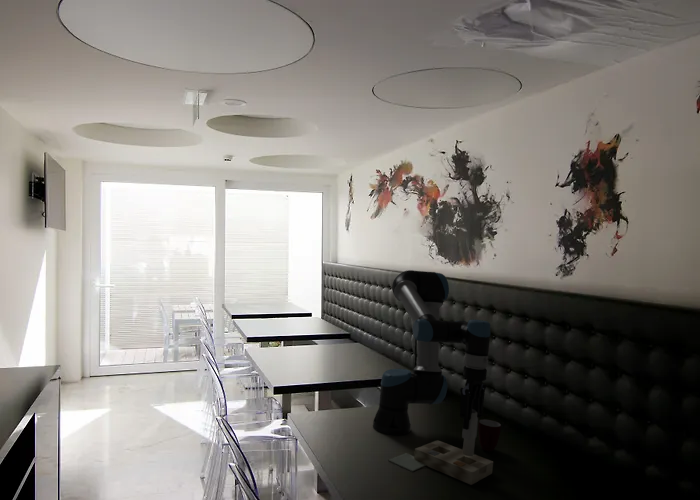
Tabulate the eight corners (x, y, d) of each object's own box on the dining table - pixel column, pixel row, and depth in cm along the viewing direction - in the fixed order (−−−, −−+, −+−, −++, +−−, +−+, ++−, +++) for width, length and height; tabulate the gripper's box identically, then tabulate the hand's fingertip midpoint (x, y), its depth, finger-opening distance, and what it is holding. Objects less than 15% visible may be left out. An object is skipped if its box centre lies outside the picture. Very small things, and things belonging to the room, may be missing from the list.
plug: (460, 453, 166) (464, 409, 166) (466, 451, 168) (470, 407, 169) (470, 457, 163) (474, 412, 163) (475, 454, 166) (479, 410, 166)
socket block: (414, 460, 172) (415, 448, 172) (436, 451, 182) (437, 439, 182) (471, 485, 157) (472, 471, 157) (492, 473, 167) (493, 460, 167)
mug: (498, 458, 181) (501, 430, 181) (476, 453, 183) (478, 426, 183) (498, 447, 191) (500, 421, 191) (476, 443, 193) (479, 418, 193)
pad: (388, 460, 170) (388, 459, 170) (405, 454, 177) (405, 452, 177) (412, 471, 163) (412, 470, 163) (429, 464, 170) (429, 462, 170)
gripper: (473, 372, 158) (466, 446, 157) (497, 366, 170) (491, 435, 169) (452, 366, 163) (446, 438, 163) (477, 362, 175) (471, 429, 175)
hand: (469, 437), depth 166 cm, fingers closed on plug, 3 cm apart
